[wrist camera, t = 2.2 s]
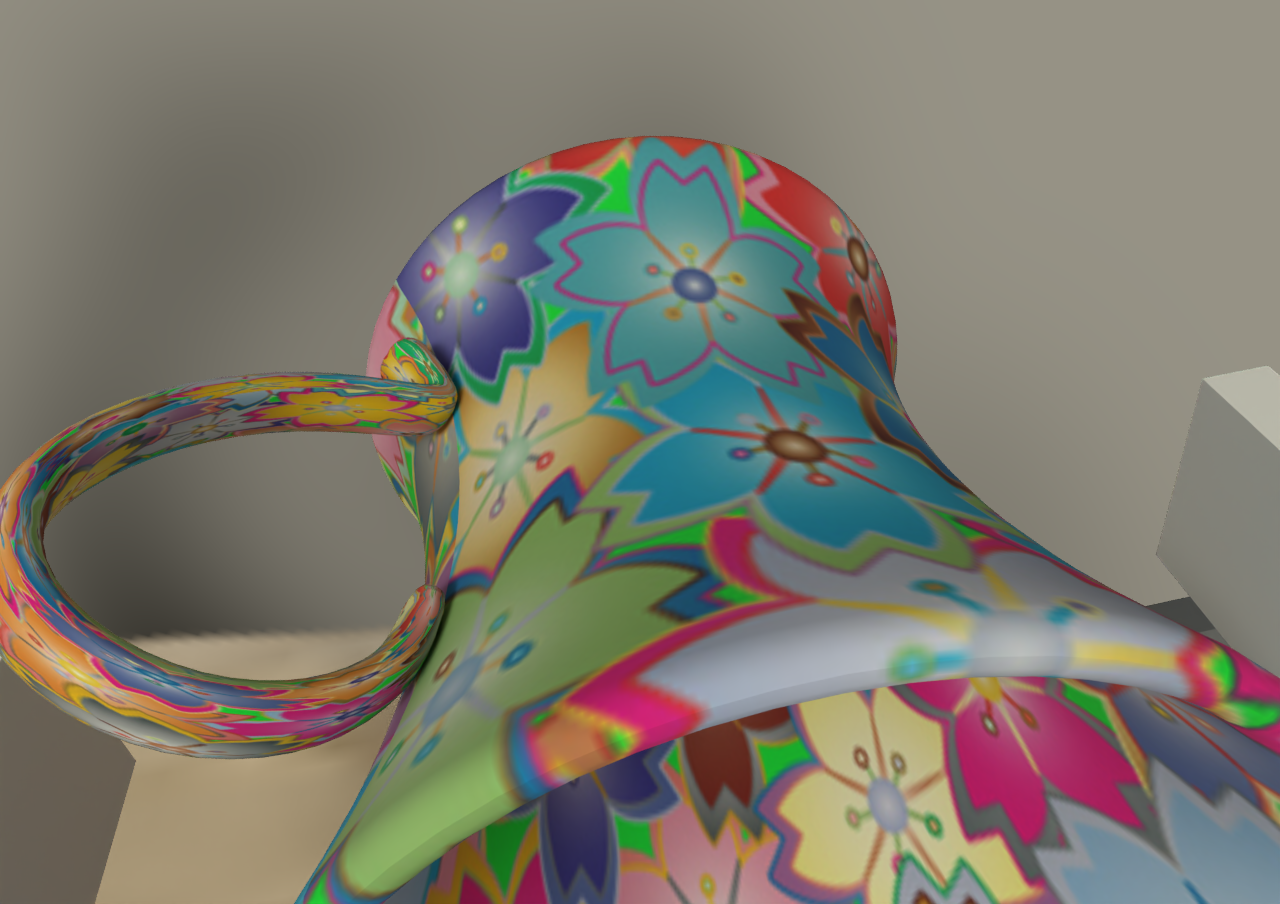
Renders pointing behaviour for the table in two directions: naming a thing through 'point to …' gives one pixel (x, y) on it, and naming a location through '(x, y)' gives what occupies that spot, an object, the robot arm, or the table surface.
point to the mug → (685, 591)
